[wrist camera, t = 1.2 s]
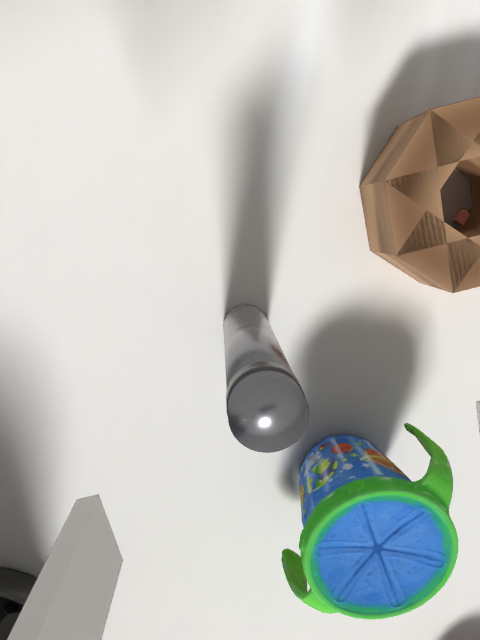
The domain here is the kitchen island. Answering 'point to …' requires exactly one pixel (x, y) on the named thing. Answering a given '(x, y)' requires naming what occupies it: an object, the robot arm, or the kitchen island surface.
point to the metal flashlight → (260, 384)
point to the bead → (427, 197)
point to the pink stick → (461, 217)
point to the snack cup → (371, 530)
